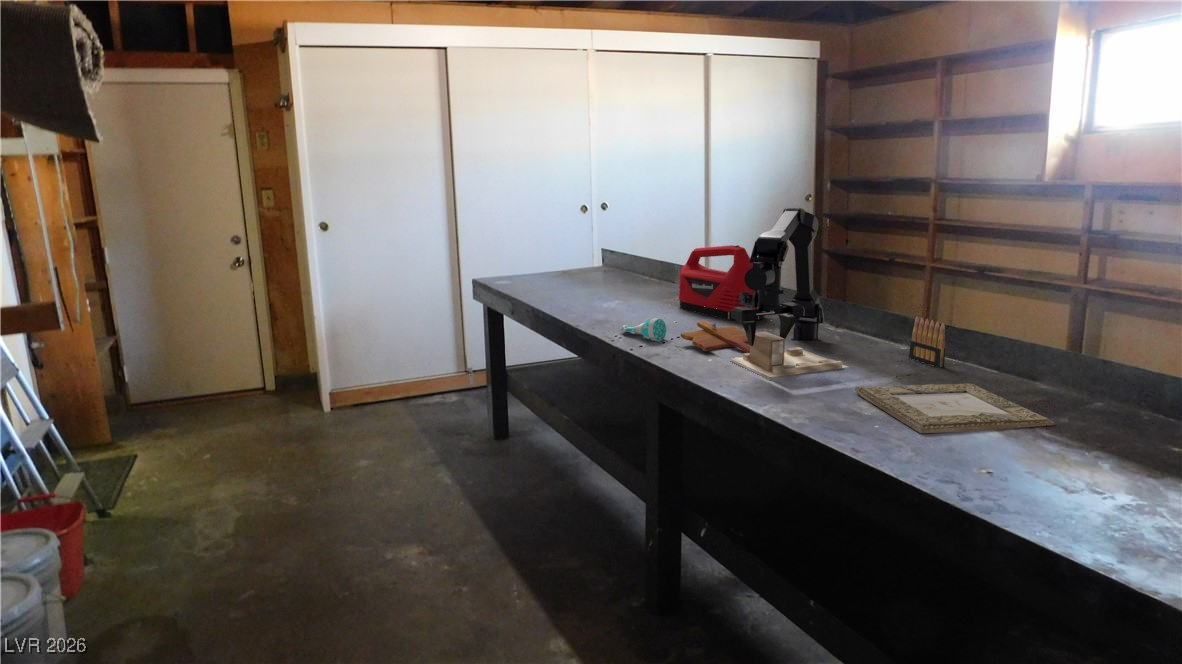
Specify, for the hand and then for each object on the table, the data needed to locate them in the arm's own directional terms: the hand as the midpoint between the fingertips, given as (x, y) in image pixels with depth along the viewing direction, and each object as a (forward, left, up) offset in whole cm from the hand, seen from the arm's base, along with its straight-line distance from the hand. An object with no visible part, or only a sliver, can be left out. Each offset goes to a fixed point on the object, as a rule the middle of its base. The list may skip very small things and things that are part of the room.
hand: (766, 344), depth 191 cm
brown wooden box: (0, 0, -6) cm, 6 cm away
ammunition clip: (-43, +11, -7) cm, 45 cm away
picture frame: (-19, +42, -8) cm, 47 cm away
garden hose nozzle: (+13, -49, -7) cm, 52 cm away
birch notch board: (-7, 0, -7) cm, 10 cm away
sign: (-2, -22, -6) cm, 23 cm away
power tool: (-27, -71, -7) cm, 77 cm away
